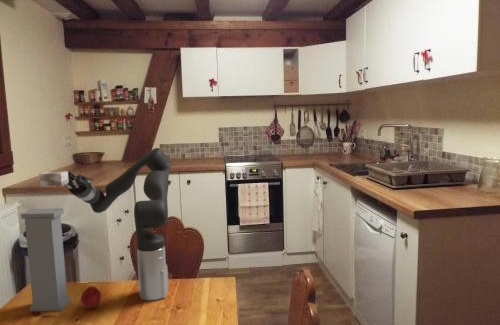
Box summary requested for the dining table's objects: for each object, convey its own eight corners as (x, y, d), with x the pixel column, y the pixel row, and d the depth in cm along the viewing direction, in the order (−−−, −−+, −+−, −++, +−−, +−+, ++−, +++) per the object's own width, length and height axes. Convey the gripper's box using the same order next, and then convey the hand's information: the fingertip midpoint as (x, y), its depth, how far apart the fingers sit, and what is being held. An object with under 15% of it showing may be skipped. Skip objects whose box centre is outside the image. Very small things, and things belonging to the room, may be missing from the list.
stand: (70, 300, 123) (63, 208, 118) (62, 310, 117) (53, 213, 113) (40, 301, 122) (31, 209, 118) (30, 311, 116) (20, 214, 112)
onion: (104, 303, 121) (103, 280, 120) (95, 313, 115) (94, 289, 114) (88, 303, 121) (86, 280, 120) (78, 312, 116) (76, 288, 114)
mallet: (79, 178, 134) (78, 167, 134) (61, 185, 121) (60, 173, 120) (60, 178, 134) (59, 168, 134) (40, 186, 121) (39, 174, 120)
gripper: (66, 180, 147) (45, 164, 131) (101, 179, 147) (84, 163, 131) (63, 198, 144) (41, 184, 128) (99, 197, 144) (81, 183, 128)
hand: (63, 174), depth 129 cm, fingers closed on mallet, 2 cm apart
